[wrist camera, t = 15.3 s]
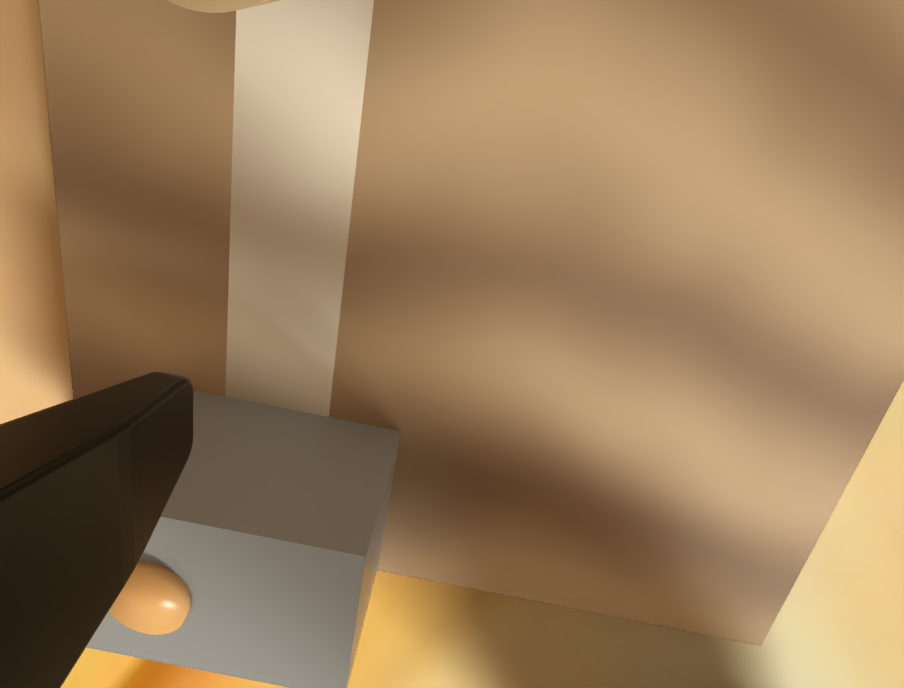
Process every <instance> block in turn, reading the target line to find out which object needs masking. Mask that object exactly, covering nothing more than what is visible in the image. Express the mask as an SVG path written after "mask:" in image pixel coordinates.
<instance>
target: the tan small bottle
mask: <svg viewBox="0 0 904 688" xmlns="http://www.w3.org/2000/svg"><path fill="white" fill-rule="evenodd" d="M167 1H168V2H171V3H173V4H176V5H178V6H180V7H183V8H187V9H190V10H194V11H199V12H207V13H225V12H231V11H236V10H241V9H246V8H250V7H254V6H259V5H263V4H268V3H272V2H276V1H281V0H167Z"/></svg>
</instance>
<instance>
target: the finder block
mask: <svg viewBox="0 0 904 688" xmlns="http://www.w3.org/2000/svg"><path fill="white" fill-rule="evenodd" d="M399 437H400V431H398V430H393V429H388V428H382V427H377V426H372V425H367V424H362V423H357V422H352V421H347V420H341V419H336V418H331V417H326V416H321V415H316V414H311V413H306V412H300V411H295V410H290V409H285V408H280V407H275V406H270V405H264V404H259V403H254V402H249V401H244V400H239V399H234V398H229V397H223V396H218V395H213V394H208V393H203V392H198V391H193V445H192V449H191V453H190V456H189V458H188V460H187V463H186V465H185V467H184V469H183V471H182V473H181V475H180V477H179V479H178V481H177V483H176V486H175V488H174V490H173V492H172V494H171V496H170V498H169V500H168V502H167V504H166V506H165V508H164V511H163V513H162V515H161V517H160V519H159V521H158V523H157V525H156V527H155V529H154V531H153V533H152V536H151V538H150V540H149V542H148V544H147V546H146V548H145V550H144V552H143V554H142V556H141V558H140V560H139V562H138V564H137V566H136V568H135V569H134V571H133V573H132V574H131V576H130V578H129V579H128V581H127V583H126V585H125V586H124V588H123V589H122V591H121V593H120V594H119V596H118V597H117V599H116V600H115V602H114V604H113V605H112V607H111V608H110V610H109V612H108V613H107V615H106V616H105V618H104V619H103V621H102V623H101V624H100V626H99V627H98V629H97V631H96V632H95V634H94V635H93V637H92V638H91V640H90V642H89V643H88V645H87V646H86V647H87V648H92V649H97V650H102V651H107V652H112V653H117V654H122V655H127V656H133V657H138V658H143V659H148V660H153V661H158V662H163V663H168V664H173V665H178V666H183V667H188V668H193V669H198V670H203V671H208V672H214V673H219V674H224V675H229V676H234V677H239V678H244V679H249V680H254V681H259V682H264V683H269V684H274V685H279V686H284V687H289V688H347V687H348V683H349V679H350V675H351V671H352V667H353V663H354V659H355V655H356V651H357V647H358V643H359V639H360V635H361V631H362V627H363V623H364V619H365V615H366V611H367V607H368V603H369V599H370V595H371V591H372V587H373V583H374V579H375V576H376V572H377V568H378V564H379V560H380V554H381V548H382V542H383V535H384V529H385V523H386V517H387V511H388V505H389V499H390V493H391V486H392V480H393V474H394V468H395V462H396V456H397V450H398V444H399Z"/></svg>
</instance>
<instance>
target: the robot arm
mask: <svg viewBox="0 0 904 688" xmlns="http://www.w3.org/2000/svg"><path fill="white" fill-rule="evenodd" d="M192 445H193V386H192V382H191V381H190V380H189V379H188V378H187V377H184V376H179V375H174V374H169V373H164V372H151V373H148V374H145V375H142V376H139V377H136V378H133V379H130V380H128V381H125V382H122V383H119V384H116V385H113V386H110V387H107V388H104V389H101V390H99V391H96V392H93V393H90V394H87V395H84V396H81V397H78V398H75V399H72V400H70V401H67V402H64V403H61V404H58V405H55V406H52V407H49V408H46V409H43V410H41V411H38V412H35V413H32V414H29V415H26V416H23V417H20V418H17V419H14V420H12V421H9V422H6V423H3V424H0V688H60V687H61V686H62V684H63V683H64V681H65V680H66V678H67V676H68V675H69V673H70V672H71V670H72V668H73V667H74V665H75V664H76V662H77V661H78V659H79V657H80V656H81V654H82V653H83V651H84V650H85V648H86V646H87V645H88V643H89V642H90V640H91V638H92V637H93V635H94V634H95V632H96V631H97V629H98V627H99V626H100V624H101V623H102V621H103V619H104V618H105V616H106V615H107V613H108V612H109V610H110V608H111V607H112V605H113V604H114V602H115V600H116V599H117V597H118V596H119V594H120V593H121V591H122V589H123V588H124V586H125V585H126V583H127V581H128V579H129V578H130V576H131V574H132V573H133V571H134V569H135V568H136V566H137V564H138V562H139V560H140V558H141V556H142V554H143V552H144V550H145V548H146V546H147V544H148V542H149V540H150V538H151V536H152V533H153V531H154V529H155V527H156V525H157V523H158V521H159V519H160V517H161V515H162V513H163V511H164V508H165V506H166V504H167V502H168V500H169V498H170V496H171V494H172V492H173V490H174V488H175V486H176V483H177V481H178V479H179V477H180V475H181V473H182V471H183V469H184V467H185V465H186V463H187V460H188V458H189V456H190V453H191V449H192Z"/></svg>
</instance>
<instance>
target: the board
mask: <svg viewBox="0 0 904 688" xmlns="http://www.w3.org/2000/svg"><path fill="white" fill-rule="evenodd" d="M39 11H40V22H41V34H42V45H43V57H44V68H45V79H46V91H47V102H48V114H49V125H50V137H51V148H52V159H53V171H54V182H55V194H56V205H57V216H58V228H59V239H60V251H61V262H62V274H63V285H64V296H65V308H66V319H67V331H68V342H69V354H70V365H71V376H72V388H73V399H75V398H78V397H81V396H84V395H87V394H90V393H93V392H96V391H99V390H101V389H104V388H107V387H110V386H113V385H116V384H119V383H122V382H125V381H128V380H130V379H133V378H136V377H139V376H142V375H145V374H148V373H151V372H164V373H169V374H174V375H179V376H184V377H187V378H188V379H189V380H190V381H191V382H192V386H193V391H198V392H203V393H208V394H213V395H218V396H223V397H229V398H234V399H239V400H244V401H249V402H254V403H259V404H264V405H270V406H275V407H280V408H285V409H290V410H295V411H300V412H306V413H311V414H316V415H321V416H326V417H331V418H336V419H341V420H347V421H352V422H357V423H362V424H367V425H372V426H377V427H382V428H388V429H393V430H398V431H400V437H399V444H398V450H397V456H396V462H395V468H394V474H393V480H392V486H391V493H390V499H389V505H388V511H387V517H386V523H385V529H384V535H383V542H382V548H381V554H380V560H379V564H378V568H377V570H380V571H385V572H390V573H395V574H400V575H405V576H410V577H415V578H420V579H425V580H430V581H435V582H440V583H445V584H451V585H456V586H461V587H466V588H471V589H476V590H481V591H486V592H491V593H496V594H501V595H506V596H511V597H516V598H521V599H526V600H531V601H536V602H541V603H547V604H552V605H557V606H562V607H567V608H572V609H577V610H582V611H587V612H592V613H597V614H602V615H607V616H612V617H617V618H622V619H627V620H632V621H637V622H643V623H648V624H653V625H658V626H663V627H668V628H673V629H678V630H683V631H688V632H693V633H698V634H703V635H708V636H713V637H718V638H723V639H728V640H733V641H739V642H744V643H749V644H754V645H759V646H761V644H762V643H763V641H764V639H765V637H766V635H767V633H768V631H769V630H770V628H771V626H772V624H773V622H774V620H775V618H776V617H777V615H778V613H779V611H780V609H781V607H782V605H783V604H784V602H785V600H786V598H787V596H788V594H789V592H790V591H791V589H792V587H793V585H794V583H795V581H796V579H797V578H798V576H799V574H800V572H801V570H802V568H803V566H804V564H805V563H806V561H807V559H808V557H809V555H810V553H811V551H812V550H813V548H814V546H815V544H816V542H817V540H818V538H819V537H820V535H821V533H822V531H823V529H824V527H825V525H826V524H827V522H828V520H829V518H830V516H831V514H832V512H833V511H834V509H835V507H836V505H837V503H838V501H839V499H840V498H841V496H842V494H843V492H844V490H845V488H846V486H847V485H848V483H849V481H850V479H851V477H852V475H853V473H854V471H855V470H856V468H857V466H858V464H859V462H860V460H861V458H862V457H863V455H864V453H865V451H866V449H867V447H868V445H869V444H870V442H871V440H872V438H873V436H874V434H875V432H876V431H877V429H878V427H879V425H880V423H881V421H882V419H883V418H884V416H885V414H886V412H887V410H888V408H889V406H890V405H891V403H892V401H893V399H894V397H895V395H896V393H897V392H898V390H899V388H900V386H901V384H902V382H903V380H904V0H281V1H276V2H272V3H268V4H263V5H259V6H254V7H250V8H246V9H241V10H236V11H231V12H225V13H207V12H199V11H194V10H190V9H187V8H183V7H180V6H178V5H176V4H173V3H171V2H168V1H167V0H39Z"/></svg>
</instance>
